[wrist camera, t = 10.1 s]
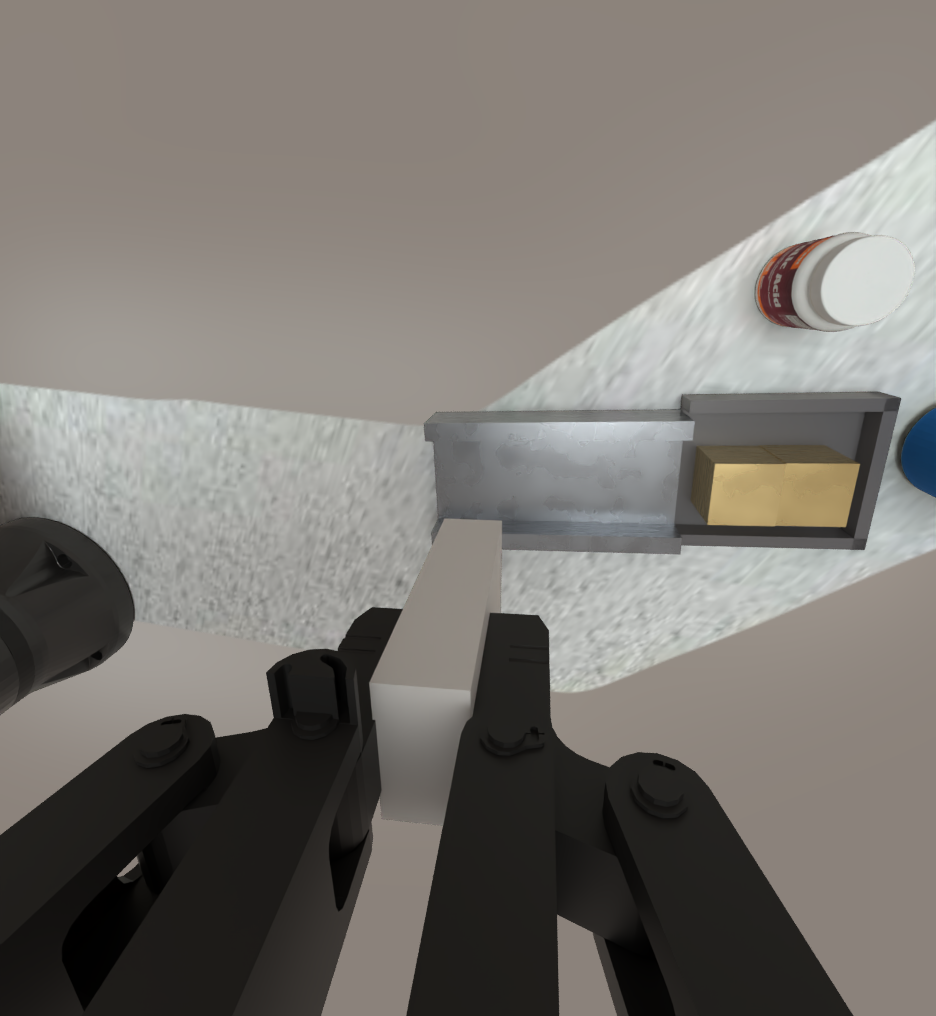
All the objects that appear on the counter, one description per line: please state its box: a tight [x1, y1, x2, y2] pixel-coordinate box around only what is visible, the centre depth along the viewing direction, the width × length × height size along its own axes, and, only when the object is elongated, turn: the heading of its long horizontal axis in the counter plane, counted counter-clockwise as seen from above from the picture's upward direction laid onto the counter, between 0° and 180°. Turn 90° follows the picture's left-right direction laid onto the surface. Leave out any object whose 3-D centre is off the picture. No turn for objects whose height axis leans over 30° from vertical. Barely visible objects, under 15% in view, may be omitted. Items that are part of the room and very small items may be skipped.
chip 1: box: [691, 446, 786, 526], centre depth 35 cm, size 4×4×4 cm
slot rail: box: [424, 409, 695, 554], centre depth 38 cm, size 17×9×4 cm, turn 91°
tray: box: [674, 392, 901, 550], centre depth 36 cm, size 12×10×2 cm
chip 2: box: [759, 445, 860, 527], centre depth 35 cm, size 4×4×4 cm
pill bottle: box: [755, 232, 915, 332], centre depth 29 cm, size 5×5×8 cm
